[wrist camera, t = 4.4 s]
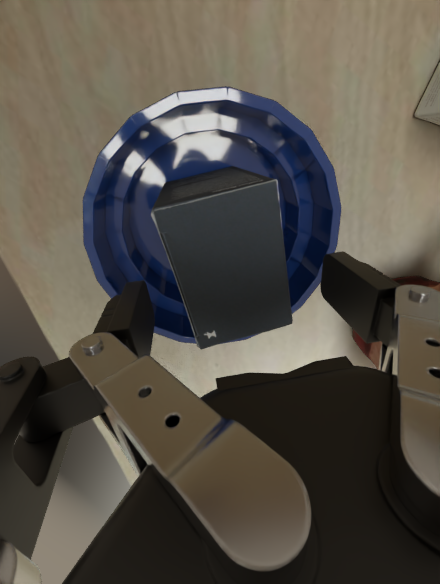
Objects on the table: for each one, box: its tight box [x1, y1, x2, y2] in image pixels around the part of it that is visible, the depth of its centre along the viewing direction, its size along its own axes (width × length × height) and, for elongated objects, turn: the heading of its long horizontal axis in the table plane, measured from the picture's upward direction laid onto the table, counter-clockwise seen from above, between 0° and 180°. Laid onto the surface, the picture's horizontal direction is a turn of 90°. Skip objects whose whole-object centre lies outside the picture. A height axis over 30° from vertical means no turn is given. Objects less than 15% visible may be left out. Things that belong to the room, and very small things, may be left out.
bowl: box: [83, 86, 341, 344], centre depth 20 cm, size 16×16×6 cm
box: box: [151, 166, 292, 349], centre depth 17 cm, size 8×6×11 cm
